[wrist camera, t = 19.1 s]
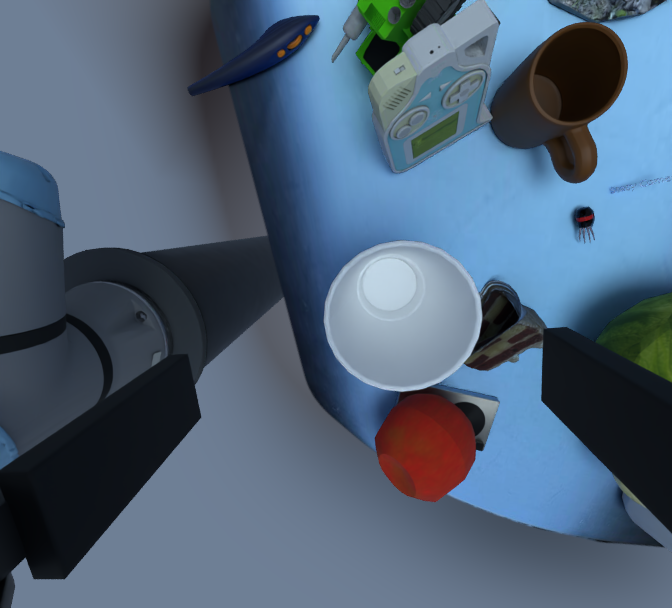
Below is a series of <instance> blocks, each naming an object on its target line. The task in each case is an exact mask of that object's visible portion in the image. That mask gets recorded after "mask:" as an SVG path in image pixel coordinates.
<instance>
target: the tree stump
mask: <svg viewBox="0 0 672 608" xmlns="http://www.w3.org/2000/svg"><path fill="white" fill-rule="evenodd" d="M549 1H550V3H552V4H554V5H556V6H558V7H560V8H562V9H564V10H566V11H568V12H571V13H573V14H575V15H577V16H579V17H581V18H583V19H585V20H587V21H589V22H594V23H596V22H602V21H608V20H614V19H619V18H625V17H631V16H637V15H641V14H644V13H645V12H647V11H649V10H651V9H652V8H654V7H656V6H658V5H659V4H661V3H663V2H664V1H666V0H549Z"/></svg>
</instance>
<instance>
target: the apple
mask: <svg viewBox="0 0 672 608" xmlns="http://www.w3.org/2000/svg"><path fill="white" fill-rule="evenodd" d="M375 445H376V451H377V455H378V459H379V464H380V466H381V468H382V470H383V472H384V473H385V475H386V476H387V477H388V478H389V480H390V481H391V482H392V483H393V485H394V486H395V487H396V488H397V489H398V490H399V491H401V492H402V493H404V494H405V495H407V496H410V497H413V498H416V499H420V500H423V501H431V502H436V501H438V500H439V499H440V498H442V497H443V496H444V495H446V494H447V493H448V492H450V491H451V490H452V489H454V488H455V487H456V486H457V485H459V484H460V483H461V482H462V481H463V480H464V479H465V478H466V476H467V474H468V472H469V471H470V469H471V467H472V465H473V463H474V461H475V456H476V443H475V433H474V430H473V427H472V424H471V422H470V421H469V419H468V418H467V417H466V415H465V414H464V413H463V412H462V410H461V409H459V408H458V407H457V406H456V405H454V404H453V403H452V402H451V401H449V400H447V399H446V398H444V397H442V396H441V395H435V394H414V395H411V396H408V397H406V398H405V399H403V400H402V401H401V402H400V403H398V404H397V405H396V406H395V407H393V408H392V409H391V411H390V413H389V414H388V416H387V417H386V419H385V421H384V423H383V424H382V426H381V428H380V429H379V431H378V433H377V435H376V437H375Z"/></svg>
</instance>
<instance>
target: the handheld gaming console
mask: <svg viewBox="0 0 672 608" xmlns="http://www.w3.org/2000/svg"><path fill="white" fill-rule="evenodd" d="M498 27H499V23H498V21H497V20H496V18H495V16H494V15H493V13H492V12H491V10H490V8H489V7H488V5H487V4H486V2H485V0H477V1H476V2H475V3H473V4H472V5H470V6H469V7H467V8H466V9H464V10H463V11H461V12H460V13H459V14H457V15H456V16H454V17H453V18H451V19H450V20H448V21H447V22H445V23H444V24H442V25H441V26H440V25H439V24H437V23H434V24H430V25H429V26H427V27H426V28H424V29H423V30H421V31H420V32H419V33H417V34H416V35H414V36H413V37H411V38H410V39H409V40H408V41H407V42H406V43H405V44H404V46H403V48H402V53H400V54H399V55H397V56H396V57H394V58H393V59H392V60H390V61H389V62H387V63H386V64H385V65H383V66H382V67H381V68H380V69H379V70H378V71H377V72H376V73H375V75H374V76H373V77H372V79H371V81H370V84H369V86H368V94H369V97H370V101H371V104H372V107H373V113H372V121H373V124H374V127H375V130H376V133H377V136H378V139H379V142H380V146H381V149H382V152H383V155H384V157H385V158H386V160H387V162H388V164H389V166H390V168H391V170H392V171H393V172H394V173H401V172H405V171H407V170H409V169H411V168H413V167H414V166H416V165H418V164H419V163H421V162H423V161H424V160H426V159H428V158H429V157H431V156H433V155H434V154H436V153H438V152H439V151H441V150H443V149H444V148H446V147H448V146H450V145H451V144H453V143H455V142H456V141H458V140H460V139H461V138H463V137H465V136H466V135H468V134H470V133H471V132H473V131H475V130H476V129H478V128H480V127H481V126H483V125H485V124H486V123H488V122H490V121H491V120H492V118H493V117H492V115H491V113H490V112H489V110H488V108H487V107H486V105H485V103H484V100H485V96H486V92H487V88H488V84H489V80H490V76H491V69H490V67H489V65H490V61H491V56H492V52H493V48H494V44H495V40H496V36H497V31H498Z"/></svg>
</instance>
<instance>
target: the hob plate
mask: <svg viewBox="0 0 672 608" xmlns="http://www.w3.org/2000/svg"><path fill="white" fill-rule="evenodd" d="M414 394H435V395H441V396H442V397H444V398H446V399H447V400H449V401H451V402H452V403H453V404H454V405H456V406H457V407H458V408H459V409H461V410H462V412H463V413H464V414H465V415H466V417H467V418H468V419H469V421H470V422H471V424H472V427H473V430H474V433H475V443H476V450H479V451H483V450H484V447H485V444H486V441H487V438H488V435H489V432H490V429H491V426H492V423H493V421H494V418H495V415H496V412H497V409H498V406H499V403H500V402H499V400H498V399H497V398H496V397H492V396H488V395H483V394H479V393H474V392H469V391H465V390H460V389H456V388H451V387H446V386H442V385H437V384H434V385H432V386H429V387H426V388H424V389H420V390H412V391H404V392H401V391H398V395H397V398H396V402H395V406H396V405H397V404H398V403H400V402H401V401H402V400H403V399H405V398H406V397H408V396H411V395H414ZM395 406H394V407H395Z"/></svg>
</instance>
